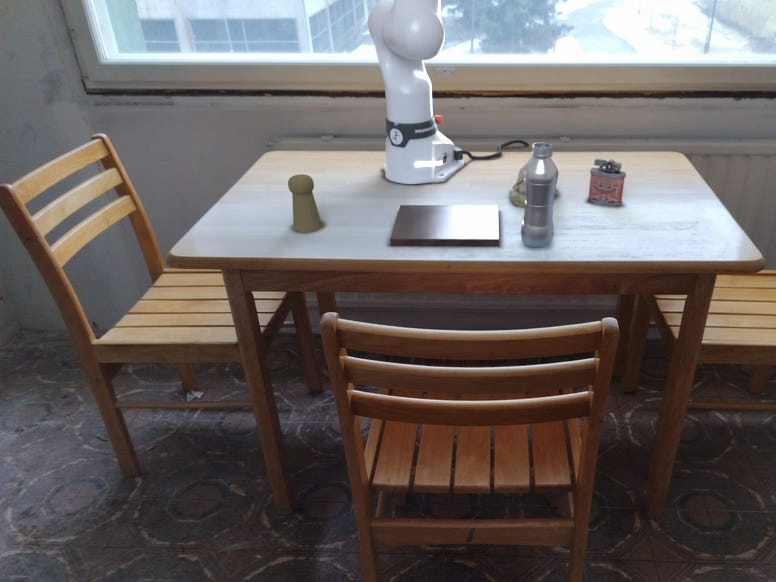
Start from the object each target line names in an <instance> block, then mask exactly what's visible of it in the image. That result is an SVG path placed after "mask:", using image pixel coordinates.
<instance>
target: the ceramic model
mask: <svg viewBox="0 0 776 582" xmlns="http://www.w3.org/2000/svg"><path fill="white" fill-rule="evenodd" d="M532 158H533V156H532V155H531V157H530V158H529V159H528V161H527V162H526V163H525V164H524V166H522V167H520V169H519V170H518V174H517V175H518V176H517V178H516V182H515V183H514V185H513V186H512V188H511V189H510V200H511V202H512V203H513V204H514V205H515V206H516V205H517V206H521V207H525V201H526V199H525V181H524V171H525V168H526V166H527V165H528V163H529V162H530V161H531V159H532ZM558 193H559V190H558V188H556V189H555V193H554V197H555V196H556V195H558Z"/></svg>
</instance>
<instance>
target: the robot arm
mask: <svg viewBox="0 0 776 582" xmlns="http://www.w3.org/2000/svg"><path fill="white" fill-rule="evenodd" d="M441 16H442V15H441V0H383V1H380V2H377V3H376V4H375V5H374V6H373V7H371V10H370V12H369V13H368V18H367V28H368V32H369V35H370V36H371V39H372V41H373V43H374V47H375V51H376V56H377V61H378V64H379V68H380V72H381V75H382V80H383V87H384V95H385V96H384V97H385V104H386V105H385V107H386V118H385V125H384V126H385V132H386V135H387V137H386V139H385V161H384V162H385V164H383V166H382V170H383V171H384V172H385V173H384V175H385V176H384V177H385V179H387V180H388V181H391V182H394V183H398V184H403V185H404V184H405V185H420V184H427V183H444V182H445V181H446V180H448V179H449V178H450V177H452V176H453V175H454V174H455V173H456V172H457V171H458V170H460V169H461V168H463V167H464V165H465V162H464V155H466V156H468V158H469V159H470V160H473V161H474V160H476V161H477V160H478V161H479V160H480V161H481V160H484V161H485V160H491V159H496V158H498V157H500V156H501V155H502V153H503V152H502V148H505V147H507V146H510V145H515V144H522V145H524V146H525V147H529V146H530V144H529V143H528V142H527V141H526V140H523V139H512V140H509V141H506V142H504V143H501V144H499V145H498V146H497V147H496V148H497V153H492V154H489V155H482V156H481V155H479V156H477V155H473V154H472V153H471V151H469V150H463V149H461V148H460V147H458V146H456V145H455V144H454V143H453V142H452V140H450V139H449V138H447V136H445V135H444V134H442V133H441V131H439V127H438V125H442V124H443V123H444V117H443V115H438V114H435V115H434V114H433V113H434V112H433V89H432V82H431V79H430V77H429V75H428V73H427V70H426V67H425V63H424V61H426V60H431V59H433V58H435V57H436V56H437V55H438V54H439V53H440V52H441V50H442V49H443V47H444V43H445V39H446V33H445V27H444V24H443V20H442V17H441ZM433 115H434V116H433ZM437 124H438V125H437Z"/></svg>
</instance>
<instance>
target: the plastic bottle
mask: <svg viewBox="0 0 776 582" xmlns="http://www.w3.org/2000/svg"><path fill="white" fill-rule="evenodd" d="M531 147H532V149H531V157H532V156H533V158H532V159H531V161H530V162H529V163H528V165H527V166H526V168H525V171H524V181H525V199H526V201H525V206H524V213H523V221H522V222H521V228H520V238H521V241H522V242H523V243H524V245H526V246H528V247H531V248H532V247H533V248H543V247H547V246H549V245H550V244H551V243H552V241H553V238H554V235H555V227H554V200H555V196H554V193H555V189H557V184H558V180H559V169H558V166H557V165H556V163H555V162H554V161H553V159H552V157H553V153H554V152H553V144H552V143H549V142H543V141H541V142H540V141H539V142H534V143H533V144H532V146H531Z"/></svg>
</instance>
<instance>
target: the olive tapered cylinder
mask: <svg viewBox="0 0 776 582" xmlns="http://www.w3.org/2000/svg"><path fill="white" fill-rule="evenodd" d="M287 187H288V190H289V191H290V193H291V195H292V220H293V222H292V226H293V230H294V231H296V232H300V233H311V232H315V231H319V230H320V229H321V228H322V227H323V223H322V220H321V216H320V213H319V210H318V206H317V203H316V199H315V196H314V192H313V191H314V189H315V181H314V180H313V178H312V176H310V175H308V174H301V173H300V174H295V175H292V176H291V177H289V179H288V181H287Z"/></svg>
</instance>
